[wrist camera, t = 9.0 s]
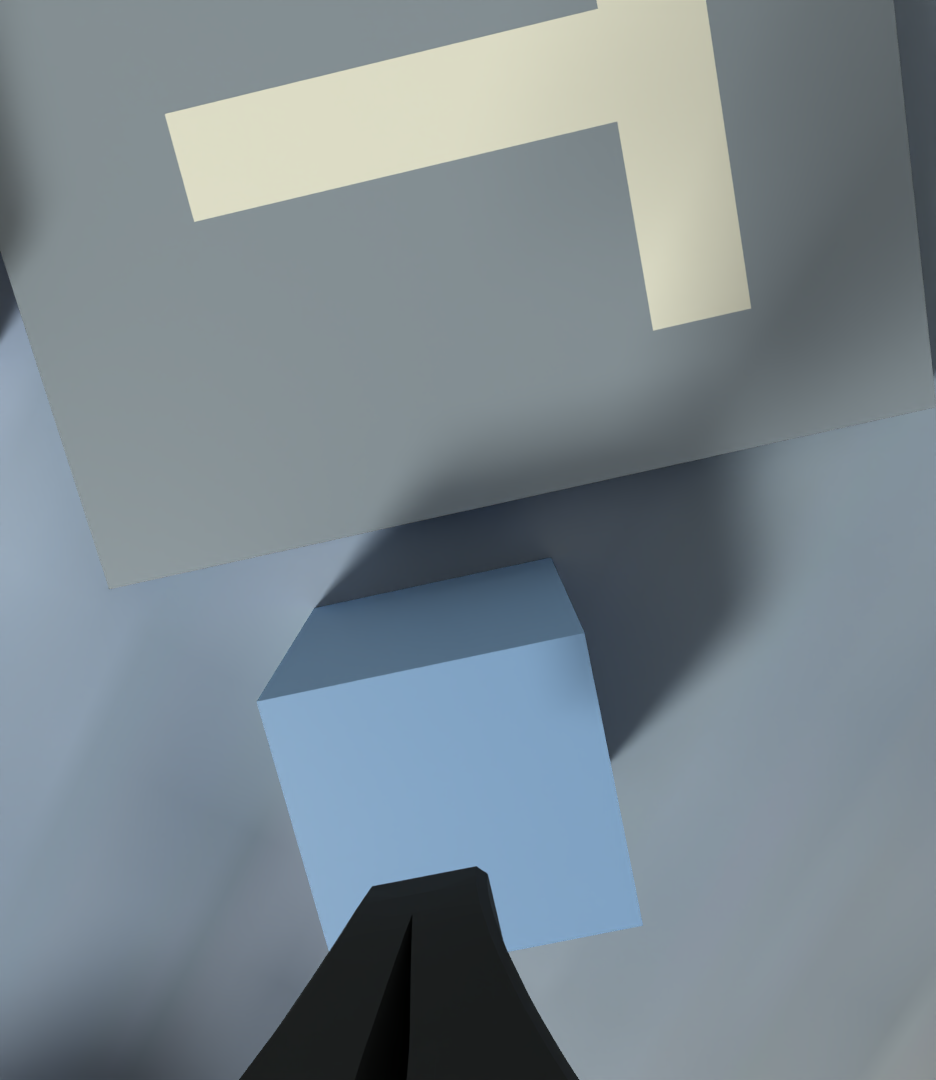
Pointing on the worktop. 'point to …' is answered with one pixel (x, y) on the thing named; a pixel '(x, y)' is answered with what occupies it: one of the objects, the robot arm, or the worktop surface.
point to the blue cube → (454, 753)
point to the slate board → (444, 251)
